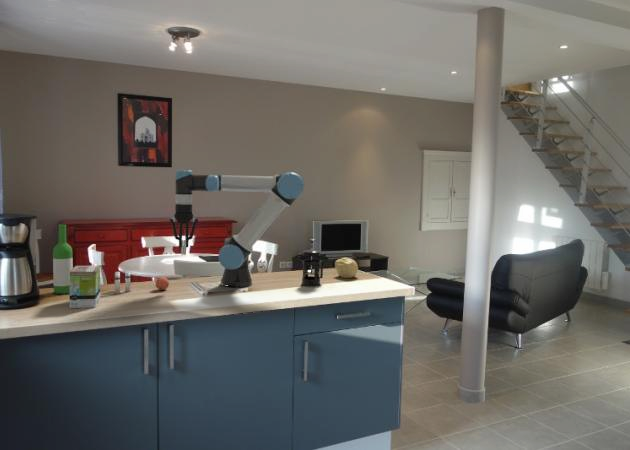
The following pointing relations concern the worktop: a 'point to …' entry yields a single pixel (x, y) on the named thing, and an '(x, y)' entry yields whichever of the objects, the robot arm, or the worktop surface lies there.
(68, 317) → the worktop surface
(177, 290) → the worktop surface
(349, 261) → the sculpture
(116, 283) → the pin
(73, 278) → the tea box
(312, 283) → the french press
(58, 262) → the wine bottle
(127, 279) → the front pin
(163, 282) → the ball
